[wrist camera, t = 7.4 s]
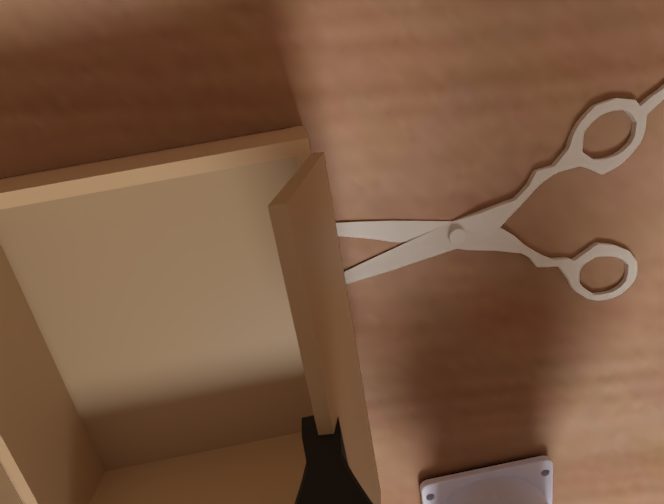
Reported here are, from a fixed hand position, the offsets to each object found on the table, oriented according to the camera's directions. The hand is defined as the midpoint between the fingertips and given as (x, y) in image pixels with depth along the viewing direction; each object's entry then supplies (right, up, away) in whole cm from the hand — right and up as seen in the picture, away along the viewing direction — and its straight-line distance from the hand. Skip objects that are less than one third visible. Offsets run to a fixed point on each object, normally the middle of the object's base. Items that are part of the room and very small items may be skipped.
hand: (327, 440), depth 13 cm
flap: (0, 0, +2) cm, 2 cm away
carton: (-7, +2, +9) cm, 11 cm away
